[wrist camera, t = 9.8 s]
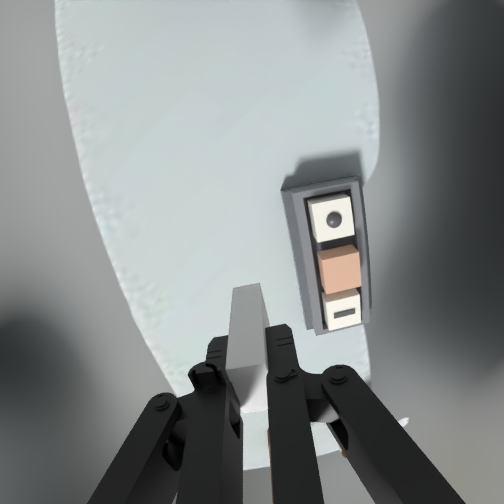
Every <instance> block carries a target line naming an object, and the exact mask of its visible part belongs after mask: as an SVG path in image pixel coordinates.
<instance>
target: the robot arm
mask: <svg viewBox="0 0 504 504" xmlns="http://www.w3.org/2000/svg"><path fill="white" fill-rule="evenodd" d="M188 376H189V378H190V380H191V382H192V384H193V386H194V388H195V390H194V391H193V392H192V393H190V394H188V395H185V396H182V397H179V398H176V396H174V395H173V394H171V393H160V394H157V395H156V396H154V397H152V399H151V400H150V401H149V402H148V404H147V405H146V407H145V408H144V410H143V412H142V413H141V415H140V417H139V418H138V420H137V422H136V423H135V425H134V427H133V428H132V430H131V431H130V433H129V435H128V436H127V438H126V440H125V441H124V443H123V445H122V446H121V448H120V450H119V451H118V453H117V455H116V457H115V458H114V460H113V461H112V463H111V465H110V466H109V468H108V470H107V471H106V473H105V475H104V476H103V478H102V480H101V481H100V483H99V485H98V486H97V488H96V490H95V491H94V493H93V495H92V496H91V498H90V500H89V501H88V503H87V504H172V502H173V500H174V498H175V495H176V493H177V491H178V493H177V499H176V504H243V421H242V418H241V416H240V407H241V409H242V412H243V413H248V412H256V411H262V410H268V420H269V436H270V453H271V469H272V487H273V504H324V499H323V494H322V487H321V481H320V476H319V470H318V464H317V459H316V453H315V447H314V442H313V436H312V431H311V425H310V422H326V424H327V426H328V428H329V429H330V431H331V433H332V434H333V436H334V438H335V439H336V441H337V443H338V444H339V446H340V447H341V449H342V451H343V452H344V454H345V456H346V457H347V459H348V460H349V462H350V464H351V465H352V467H353V469H354V470H355V471H356V473H357V475H358V477H359V478H360V480H361V482H362V483H363V485H364V486H365V488H366V489H367V491H368V493H369V494H370V496H371V497H372V499H373V500H374V502H375V504H466V503H465V502H464V501H463V500H462V499H461V498H460V496H459V495H458V494H457V493H456V491H455V490H454V489H453V488H452V487H451V485H450V484H449V483H448V482H447V480H446V479H445V478H444V477H443V476H442V474H441V473H440V472H439V471H438V470H437V468H436V467H435V466H434V465H433V464H432V462H431V461H430V460H429V459H428V458H427V457H426V455H425V454H424V453H423V452H422V451H421V449H420V448H419V447H418V446H417V444H416V443H415V442H414V441H413V440H412V438H411V437H410V436H409V435H408V434H407V432H406V431H405V430H404V429H403V428H402V426H401V425H400V424H399V423H398V422H397V420H396V419H395V418H394V417H393V416H392V414H391V413H390V412H389V411H388V410H387V408H386V407H385V406H384V405H383V404H382V402H381V401H380V400H379V399H378V398H377V396H376V395H375V394H374V393H373V392H372V390H371V389H370V388H369V387H368V386H367V384H366V383H365V382H364V381H363V380H362V378H361V377H360V376H359V375H358V374H357V372H356V371H355V370H354V369H353V368H351V367H350V366H347V365H334V366H331V367H329V368H327V369H326V370H325V371H324V372H323V373H322V374H311V373H308V372H305V371H304V370H302V369H301V368H300V366H299V364H298V359H297V354H296V349H295V344H294V339H293V334H292V330H291V328H290V327H289V326H288V325H287V324H282V325H277V326H272V327H270V325H269V320H268V315H267V311H266V307H265V303H264V299H263V295H262V291H261V286H260V283H256V284H251V285H246V286H241V287H236V288H233V293H232V303H231V314H230V325H229V335H227V336H221V337H215V338H213V339H212V340H211V342H210V343H209V345H208V349H207V355H206V361H205V362H201V363H199V364H197V365H195V366H193V367H192V368H191V369H190V371H189V373H188Z"/></svg>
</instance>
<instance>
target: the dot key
mask: <svg viewBox="0 0 504 504" xmlns="http://www.w3.org/2000/svg"><path fill="white" fill-rule="evenodd" d="M307 203H308V209H309V214H310V220H311V226H312V232H313V236H314V238H315V239H316V241H317V242H323V241H328V240H332V239H337V238H342V237H346V236H351V235H355V234H354V225H353V217H352V209H351V201H350V197H349V196H347V195H346V194H344V193H339V194H334V195H328V196H323V197H318V198H313V199H308V200H307Z"/></svg>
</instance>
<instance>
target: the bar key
mask: <svg viewBox="0 0 504 504" xmlns="http://www.w3.org/2000/svg"><path fill="white" fill-rule="evenodd" d="M322 300H323V308H324V316H325V321H326V324H327V326H328V329H329V331H331V330H335V329H339V328H343V327H347V326H351V325H355V324H358V323H361V310H360V294H359V293H358V291H357V290H356V288H352V289H347V290H343V291H339V292H335V293H331V294H326V293H325V292H322Z"/></svg>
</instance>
